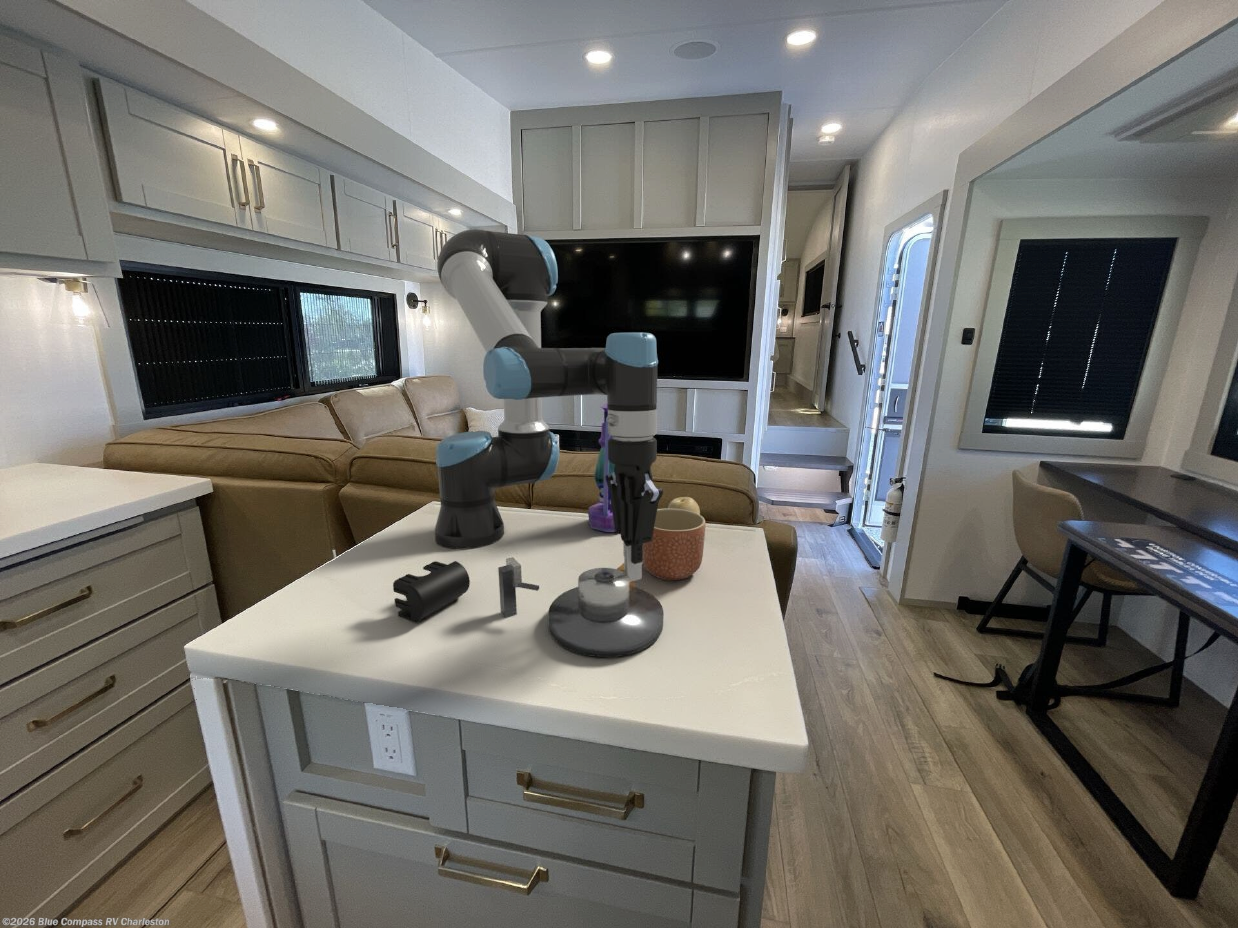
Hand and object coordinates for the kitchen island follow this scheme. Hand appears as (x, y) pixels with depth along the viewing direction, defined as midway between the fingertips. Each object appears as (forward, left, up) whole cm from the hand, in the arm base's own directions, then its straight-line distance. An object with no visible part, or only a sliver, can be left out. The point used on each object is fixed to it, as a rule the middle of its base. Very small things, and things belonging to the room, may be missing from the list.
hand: (633, 579), depth 80 cm
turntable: (+1, -6, -6) cm, 8 cm away
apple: (-26, +32, -6) cm, 41 cm away
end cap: (-18, -28, -6) cm, 34 cm away
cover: (+1, -6, -3) cm, 7 cm away
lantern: (-35, +17, -6) cm, 39 cm away
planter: (-8, +14, -6) cm, 17 cm away
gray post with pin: (-8, -17, -6) cm, 19 cm away
